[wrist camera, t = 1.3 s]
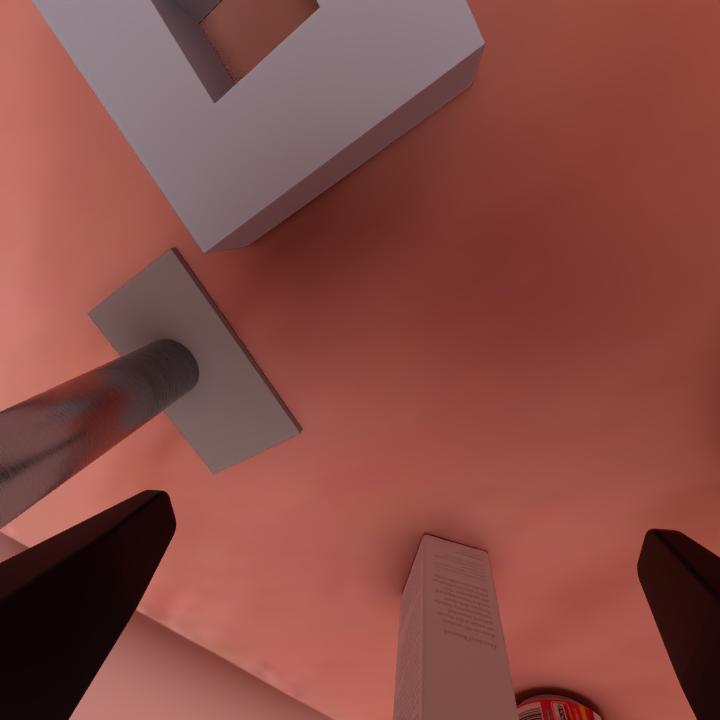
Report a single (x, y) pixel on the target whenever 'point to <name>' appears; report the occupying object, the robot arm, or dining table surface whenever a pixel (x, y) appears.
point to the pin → (85, 420)
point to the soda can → (554, 709)
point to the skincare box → (451, 639)
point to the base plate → (199, 362)
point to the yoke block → (264, 98)
